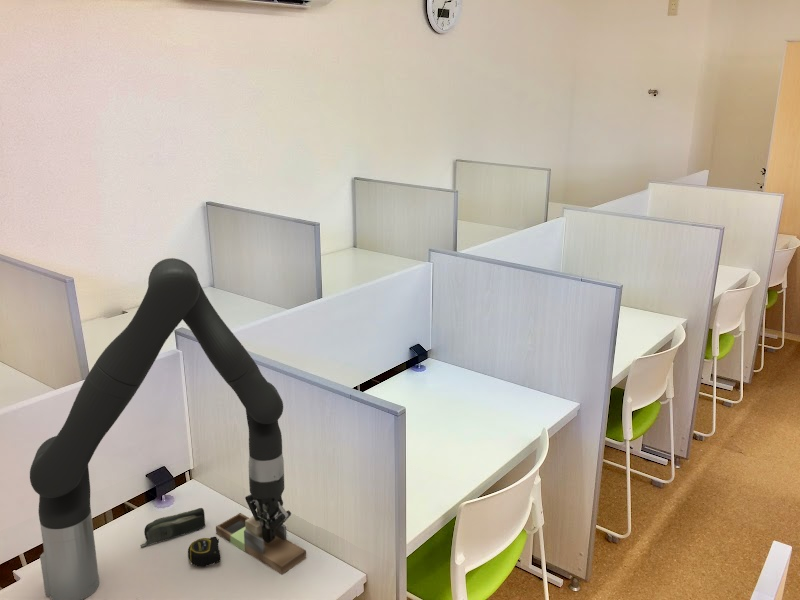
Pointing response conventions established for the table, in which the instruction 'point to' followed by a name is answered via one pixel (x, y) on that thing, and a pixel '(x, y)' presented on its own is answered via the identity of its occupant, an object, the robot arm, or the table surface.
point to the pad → (238, 539)
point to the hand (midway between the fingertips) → (268, 540)
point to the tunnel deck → (265, 545)
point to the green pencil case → (174, 526)
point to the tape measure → (204, 552)
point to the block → (254, 526)
